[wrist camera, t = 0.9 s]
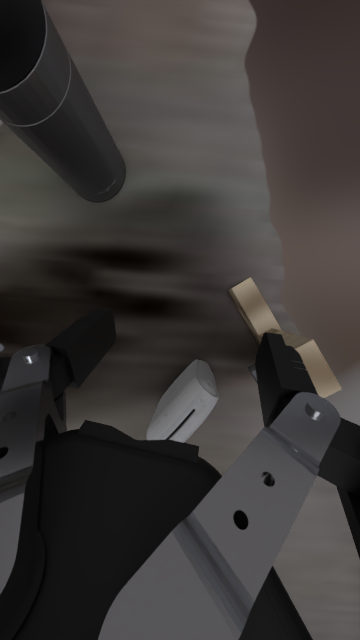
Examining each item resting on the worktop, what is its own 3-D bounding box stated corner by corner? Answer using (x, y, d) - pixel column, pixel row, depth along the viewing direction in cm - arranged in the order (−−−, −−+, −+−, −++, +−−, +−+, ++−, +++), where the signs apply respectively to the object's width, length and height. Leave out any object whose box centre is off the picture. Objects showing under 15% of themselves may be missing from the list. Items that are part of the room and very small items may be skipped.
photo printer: (197, 353, 34) (195, 379, 22) (217, 370, 34) (227, 406, 21) (157, 398, 35) (133, 447, 23) (176, 415, 35) (163, 474, 22)
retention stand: (205, 303, 33) (209, 300, 19) (244, 280, 32) (280, 259, 18) (268, 411, 33) (321, 491, 19) (309, 391, 32) (396, 458, 18)
